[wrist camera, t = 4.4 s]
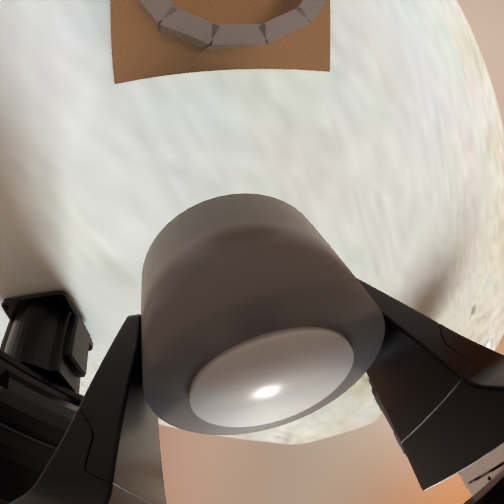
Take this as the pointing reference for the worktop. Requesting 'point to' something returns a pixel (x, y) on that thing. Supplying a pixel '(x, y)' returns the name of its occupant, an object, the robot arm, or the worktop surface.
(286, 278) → the gray tapered cylinder
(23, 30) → the worktop surface
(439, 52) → the worktop surface
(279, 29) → the ring mount
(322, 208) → the worktop surface
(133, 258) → the worktop surface
